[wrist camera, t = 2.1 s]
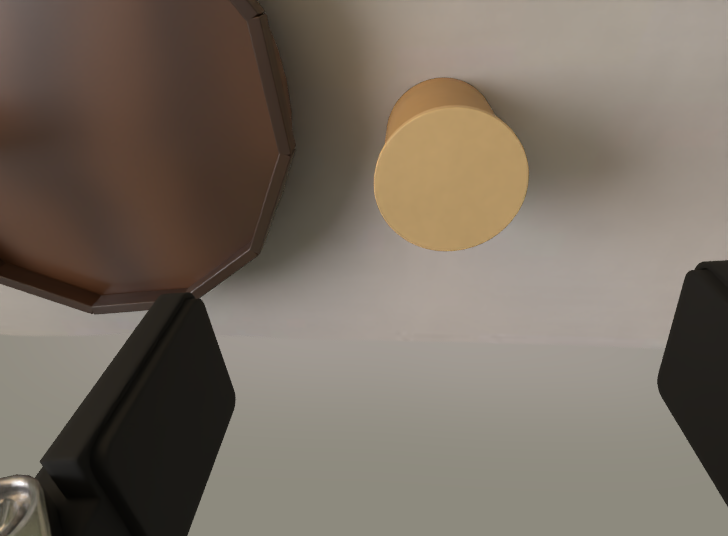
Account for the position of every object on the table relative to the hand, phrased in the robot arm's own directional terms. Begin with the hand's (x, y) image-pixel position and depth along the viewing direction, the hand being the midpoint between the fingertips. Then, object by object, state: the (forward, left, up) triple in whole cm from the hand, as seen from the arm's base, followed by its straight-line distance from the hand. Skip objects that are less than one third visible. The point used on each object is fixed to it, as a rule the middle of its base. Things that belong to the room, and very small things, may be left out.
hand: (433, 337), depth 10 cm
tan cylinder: (-1, +1, -18) cm, 18 cm away
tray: (+17, -3, -16) cm, 24 cm away
